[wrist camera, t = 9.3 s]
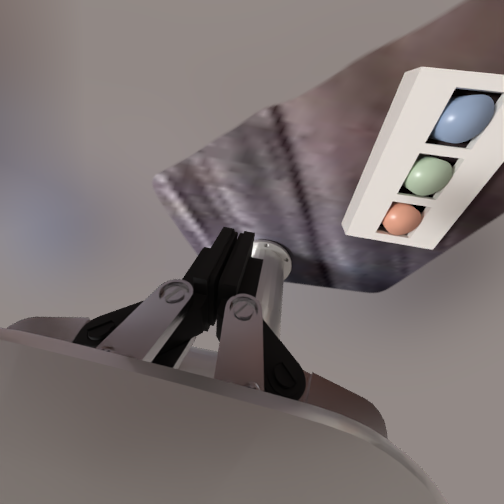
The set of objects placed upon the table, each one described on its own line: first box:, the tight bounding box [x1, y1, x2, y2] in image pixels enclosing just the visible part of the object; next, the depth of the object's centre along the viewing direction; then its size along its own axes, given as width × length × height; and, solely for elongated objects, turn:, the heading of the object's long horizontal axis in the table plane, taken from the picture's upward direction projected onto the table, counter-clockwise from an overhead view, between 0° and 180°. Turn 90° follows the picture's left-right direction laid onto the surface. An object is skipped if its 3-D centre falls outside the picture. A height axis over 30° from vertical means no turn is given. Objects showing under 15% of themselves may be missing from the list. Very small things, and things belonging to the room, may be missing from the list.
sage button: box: [402, 154, 452, 196], centre depth 28 cm, size 5×5×4 cm
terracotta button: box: [381, 201, 421, 235], centre depth 32 cm, size 5×5×4 cm
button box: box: [342, 67, 504, 250], centre depth 28 cm, size 21×14×4 cm, turn 174°
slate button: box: [429, 94, 495, 143], centre depth 24 cm, size 5×5×4 cm
